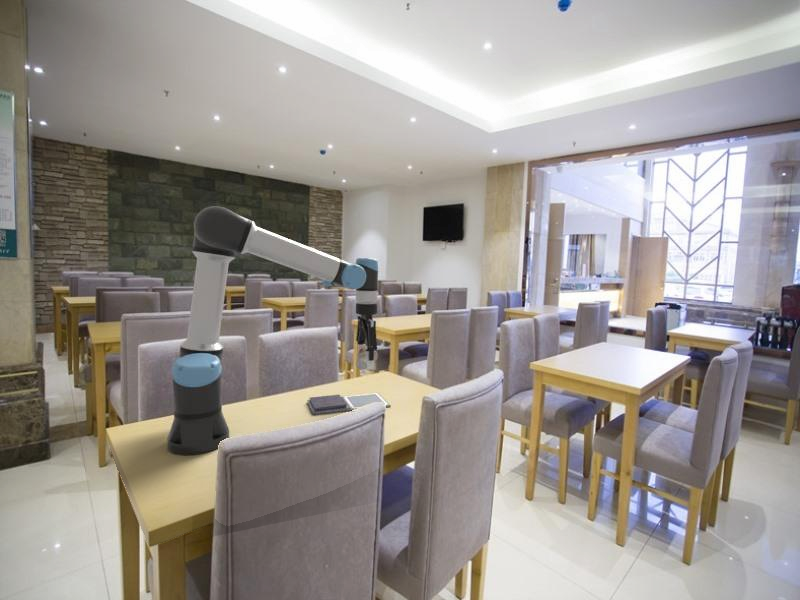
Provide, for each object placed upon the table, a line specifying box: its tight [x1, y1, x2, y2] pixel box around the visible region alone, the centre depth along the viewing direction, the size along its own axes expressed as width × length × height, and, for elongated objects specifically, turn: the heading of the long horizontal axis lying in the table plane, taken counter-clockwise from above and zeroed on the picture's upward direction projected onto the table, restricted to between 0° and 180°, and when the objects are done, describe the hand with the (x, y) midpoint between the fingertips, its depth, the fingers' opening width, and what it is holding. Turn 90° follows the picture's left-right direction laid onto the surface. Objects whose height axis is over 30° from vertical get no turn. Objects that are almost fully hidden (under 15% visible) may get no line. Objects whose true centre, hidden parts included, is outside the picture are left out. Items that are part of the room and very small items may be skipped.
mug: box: [355, 345, 379, 372], centre depth 144 cm, size 8×10×10 cm
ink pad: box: [306, 394, 350, 415], centre depth 141 cm, size 12×12×2 cm
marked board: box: [340, 392, 391, 411], centre depth 146 cm, size 14×14×1 cm
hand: (365, 365), depth 144 cm, fingers closed on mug, 10 cm apart
